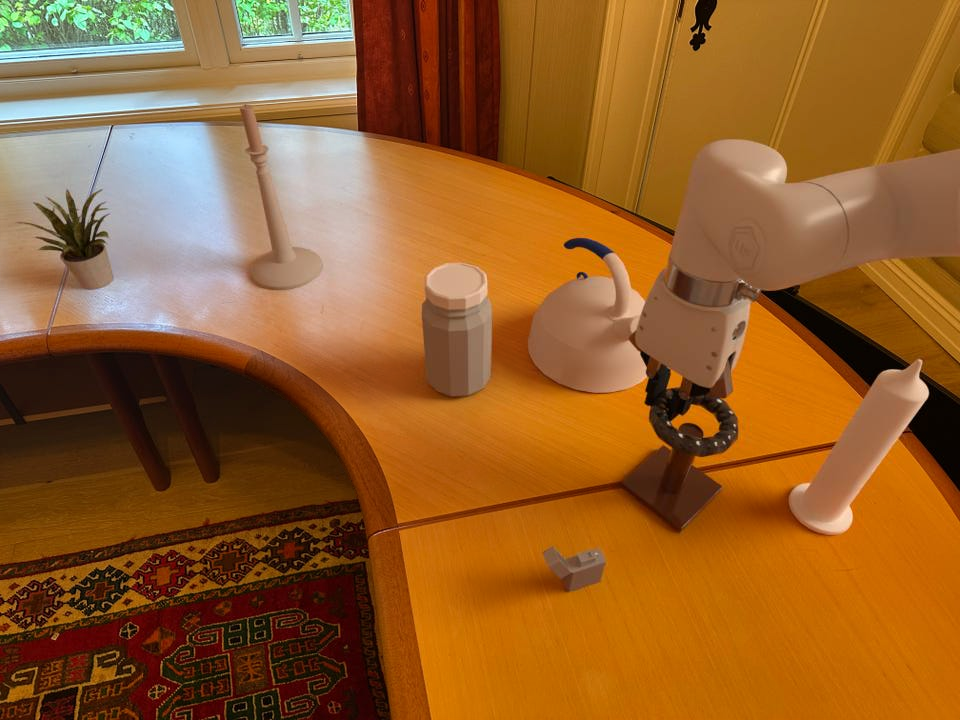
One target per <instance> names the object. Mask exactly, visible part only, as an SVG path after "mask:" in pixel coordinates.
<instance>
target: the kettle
mask: <svg viewBox="0 0 960 720" xmlns="http://www.w3.org/2000/svg"><path fill="white" fill-rule="evenodd" d="M563 247H564V248H565V249H566V250H574V249H576V248H581V249H585V250H587V251H589V252H592V253H593V254H595V255H596V256H597V257H598V258H600V259H601V260H602V261H603V262H604V263H605V265H606V266H607V268H608V269H609V272H610V275H611V277H606V276H601V275H590V276H589V275H588V273H586V272H584V271H579V272H578V273H577V274H576V278H574V279H571V280H569V281H566V282H564V283H562V284H561V285H560V286H559V287H557V288H556V289H554V290H553V291H551V292H550V293H549V294H547V295H546V296H545V298H544V299H543V300H542V302H541V303H540V305H539V306H538V308H537V309H536V310H535V312H534V314H533V318H532V321H531V326H530V330H529V334H528V339H527V350H528V355H529V357H530V358H531V360H532V362H533V364H534V365H535V367H537V368H538V370H540V371H541V372H542V374H544V376H546V377H548V378H549V379H551V380H553V381H554V382H556V383H557V384H559V385H562V386H564V387H567V388H570V389H573V390H576V391H581V392H588V393H599V394H600V393H615V392H618V391H624V390H627V389H628V390H629V389H630V388H632V387H634V386H636V385H639V384H640V383H642V382H643V381H644V380H645V379H647V378H648V377H647V375H646V368H647V367H646V365H645V363H644V361H643V359H642V357H641V355H640V351H638V350H637V349H636V348H635V347H634V346H633V345H632V343H631V342H630V341H629V336H630V335H631V334H632V333H633V332H634V331H635V330H636V329H637V325H638V322H639V318H640V315H641V312H642V309H643V307H644V304H645V301H646V300H645V299H644V298H643V297H642V296H641V294H640V293H639V292H638V291H636V290H635V289H634V288H632V285H631V282H630V277H629V273H628V271H627V269H626V267H625V264H624V263H623V261H622V260H621V258H620V257H619V256H618V255H617V254H616V252H615V251H614V250H612V249H610V248H609V247H608V246H607V245H605V244H603V243H601V242H599V241H596V240H594V239H591V238H587V237H574V238H570V239H568V240H567V241H565V242H563ZM581 276H582V277H581Z"/></svg>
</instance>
